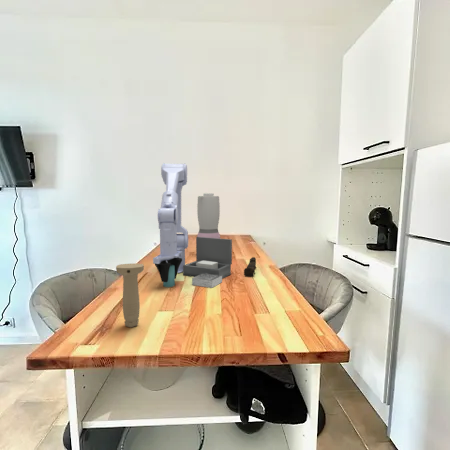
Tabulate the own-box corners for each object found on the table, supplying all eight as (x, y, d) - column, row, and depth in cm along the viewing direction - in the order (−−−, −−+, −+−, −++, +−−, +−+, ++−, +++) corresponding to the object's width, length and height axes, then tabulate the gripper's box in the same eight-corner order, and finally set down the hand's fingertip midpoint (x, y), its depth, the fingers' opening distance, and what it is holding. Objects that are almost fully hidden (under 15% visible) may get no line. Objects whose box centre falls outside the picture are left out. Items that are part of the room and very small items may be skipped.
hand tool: (253, 278, 124) (254, 266, 124) (243, 277, 125) (243, 265, 125) (259, 267, 143) (260, 256, 142) (251, 266, 143) (251, 256, 143)
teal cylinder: (160, 286, 112) (160, 266, 112) (167, 283, 116) (167, 264, 115) (170, 287, 111) (170, 267, 110) (177, 284, 114) (176, 265, 113)
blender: (211, 259, 157) (211, 193, 154) (191, 256, 164) (191, 193, 161) (228, 254, 171) (228, 193, 167) (209, 251, 177) (209, 193, 174)
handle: (120, 321, 81) (118, 263, 80) (146, 320, 82) (144, 263, 81) (116, 330, 77) (114, 268, 75) (143, 328, 77) (142, 267, 76)
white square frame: (192, 284, 114) (192, 278, 114) (203, 279, 121) (203, 273, 121) (211, 287, 110) (211, 280, 110) (222, 282, 117) (222, 275, 117)
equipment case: (183, 275, 127) (182, 240, 125) (197, 269, 136) (197, 236, 135) (219, 280, 120) (219, 243, 118) (231, 273, 129) (231, 239, 128)
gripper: (165, 245, 103) (165, 286, 105) (189, 239, 116) (189, 276, 118) (147, 244, 107) (148, 284, 108) (173, 238, 119) (173, 274, 121)
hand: (168, 280), depth 113 cm, fingers open, 4 cm apart
